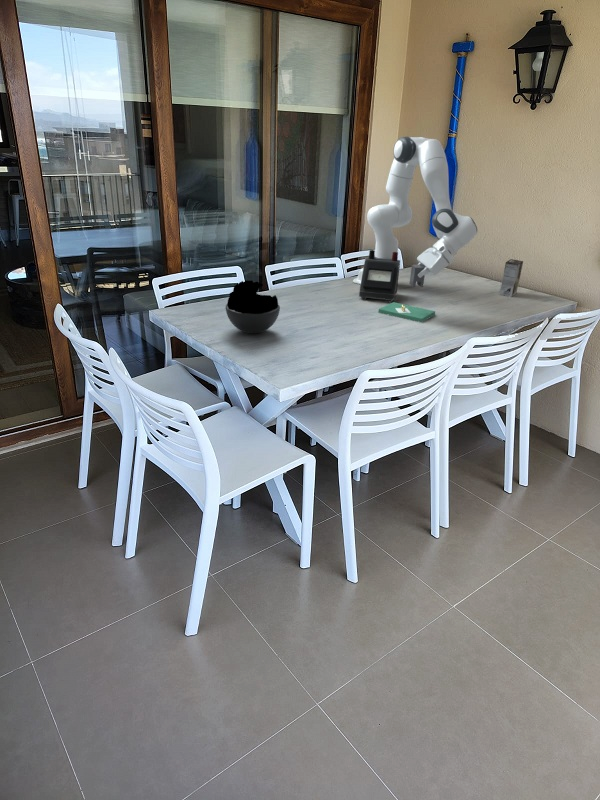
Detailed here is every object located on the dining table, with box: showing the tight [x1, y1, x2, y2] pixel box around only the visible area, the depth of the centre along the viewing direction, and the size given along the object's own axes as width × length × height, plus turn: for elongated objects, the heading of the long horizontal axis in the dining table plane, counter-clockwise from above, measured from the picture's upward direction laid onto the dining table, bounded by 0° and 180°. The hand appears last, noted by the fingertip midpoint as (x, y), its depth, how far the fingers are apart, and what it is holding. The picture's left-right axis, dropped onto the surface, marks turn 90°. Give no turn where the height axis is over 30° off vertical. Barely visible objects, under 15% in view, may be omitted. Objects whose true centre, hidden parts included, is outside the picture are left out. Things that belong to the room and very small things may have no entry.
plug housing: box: [409, 264, 426, 288], centre depth 225 cm, size 5×4×8 cm
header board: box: [378, 301, 436, 323], centre depth 232 cm, size 20×14×2 cm
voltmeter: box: [358, 249, 401, 303], centre depth 251 cm, size 16×16×20 cm
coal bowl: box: [225, 279, 281, 334], centre depth 200 cm, size 20×20×19 cm
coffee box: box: [499, 258, 524, 298], centre depth 265 cm, size 9×6×16 cm
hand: (416, 274), depth 225 cm, fingers closed on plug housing, 5 cm apart
